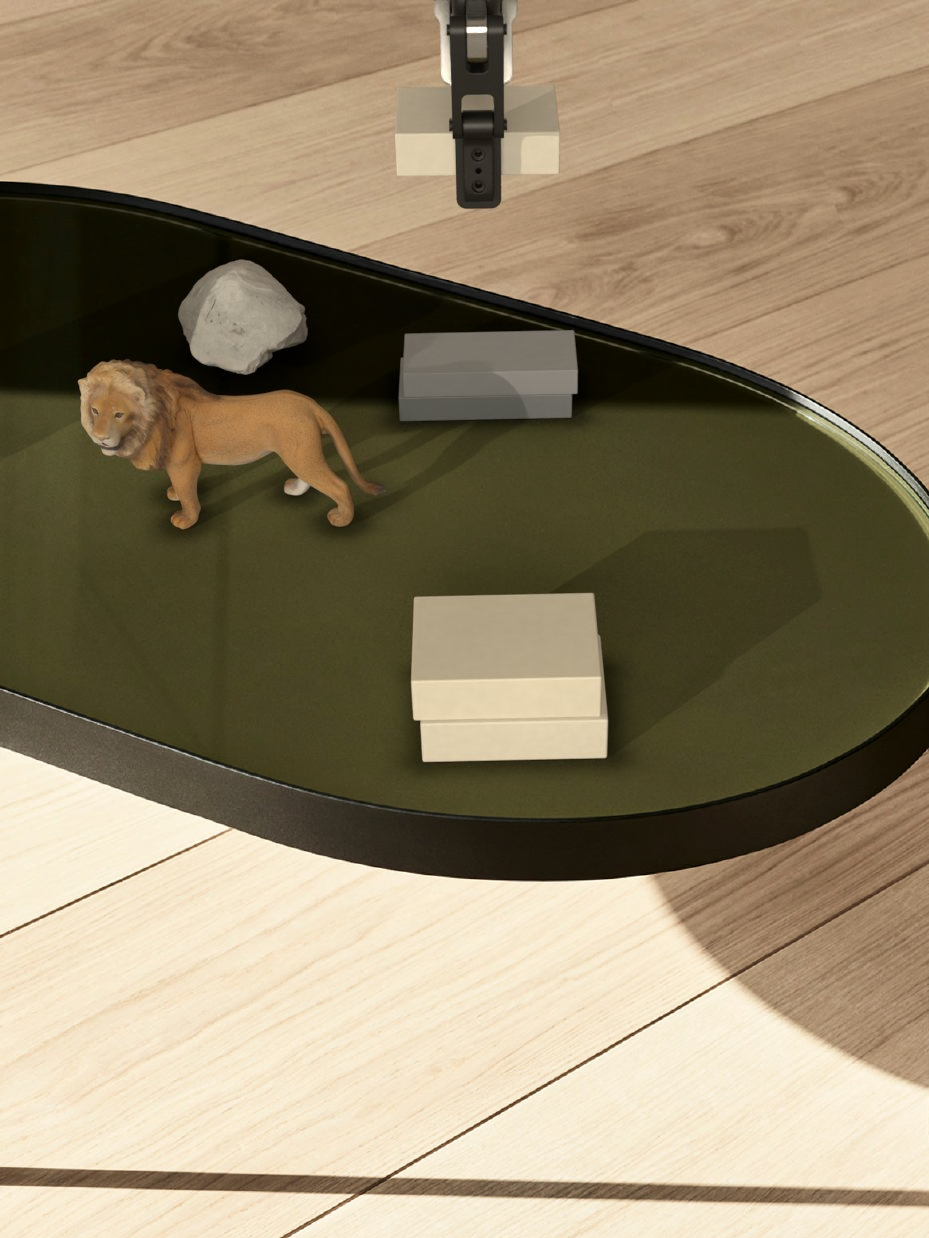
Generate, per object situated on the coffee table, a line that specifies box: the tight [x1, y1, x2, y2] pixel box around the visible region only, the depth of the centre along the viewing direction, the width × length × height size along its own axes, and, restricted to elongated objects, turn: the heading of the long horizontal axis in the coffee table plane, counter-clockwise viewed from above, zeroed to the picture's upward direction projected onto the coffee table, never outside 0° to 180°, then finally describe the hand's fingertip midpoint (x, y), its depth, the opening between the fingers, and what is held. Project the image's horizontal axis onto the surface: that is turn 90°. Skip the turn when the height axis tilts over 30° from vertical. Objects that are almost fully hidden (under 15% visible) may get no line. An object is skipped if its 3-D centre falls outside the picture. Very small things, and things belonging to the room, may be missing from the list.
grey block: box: [398, 329, 579, 422], centre depth 102 cm, size 10×4×3 cm, turn 91°
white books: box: [410, 592, 609, 763], centre depth 81 cm, size 8×6×4 cm
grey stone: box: [177, 259, 308, 375], centre depth 106 cm, size 9×8×5 cm
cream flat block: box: [394, 84, 561, 177], centre depth 92 cm, size 8×6×2 cm
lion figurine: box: [77, 358, 387, 530], centre depth 92 cm, size 15×5×9 cm, turn 98°
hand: (478, 176), depth 93 cm, fingers closed on cream flat block, 6 cm apart
